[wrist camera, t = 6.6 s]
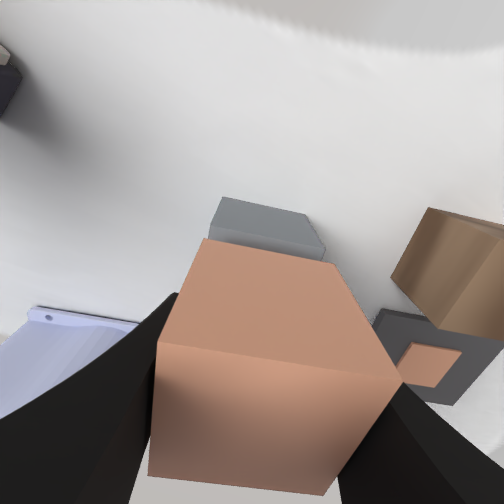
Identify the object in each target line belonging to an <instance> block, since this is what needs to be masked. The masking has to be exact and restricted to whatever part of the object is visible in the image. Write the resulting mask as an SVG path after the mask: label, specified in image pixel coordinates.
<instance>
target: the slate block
mask: <svg viewBox="0 0 504 504" xmlns="http://www.w3.org/2000/svg"><path fill="white" fill-rule="evenodd" d="M208 239H210V240H215V241H221V242H226V243H231V244H236V245H241V246H246V247H251V248H256V249H261V250H266V251H271V252H276V253H281V254H286V255H291V256H296V257H301V258H306V259H311V260H316V261H321V260H322V257H323V255H324V252H325V247H324V246H323V244H322V242H321V241H320V239H319V237H318V236H317V234H316V232H315V231H314V229H313V227H312V226H311V224H310V222H309V221H308V219H307V217H306V216H305V214H301V213H296V212H292V211H287V210H282V209H278V208H273V207H269V206H264V205H259V204H255V203H250V202H246V201H241V200H237V199H232V198H227V197H222V199H221V202H220V204H219V206H218V208H217V211H216V213H215V215H214V218H213V220H212V222H211V224H210V229H209V236H208Z"/></svg>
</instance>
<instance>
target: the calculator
mask: <svg viewBox="0 0 504 504" xmlns="http://www.w3.org/2000/svg"><path fill="white" fill-rule="evenodd" d="M9 58H10V53H9V52H8V51H7V50H6V49H5V48H4V47H3V46H1V45H0V116H1V115H2V113H3V111H4V109H5V108H6V106H7V104H8V102H9V100H10V99H11V97H12V95H13V93H14V92H15V90H16V88H17V86H18V84H19V82H20V80H21V78H22V76H21V74H20V72H19V71H18V70H17V69H16V68H15V67H14V66H13V65H11V64H10V63H9V62H8V60H9Z"/></svg>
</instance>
